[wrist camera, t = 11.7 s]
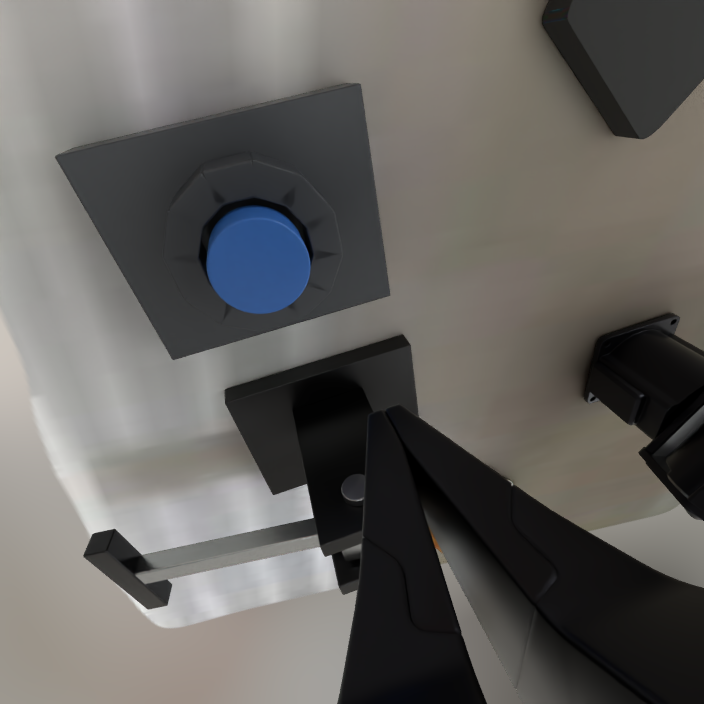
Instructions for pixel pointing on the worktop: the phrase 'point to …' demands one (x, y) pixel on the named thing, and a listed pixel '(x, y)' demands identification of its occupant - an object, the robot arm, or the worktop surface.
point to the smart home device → (631, 56)
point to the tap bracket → (325, 434)
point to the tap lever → (194, 557)
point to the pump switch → (233, 192)
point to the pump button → (257, 260)
